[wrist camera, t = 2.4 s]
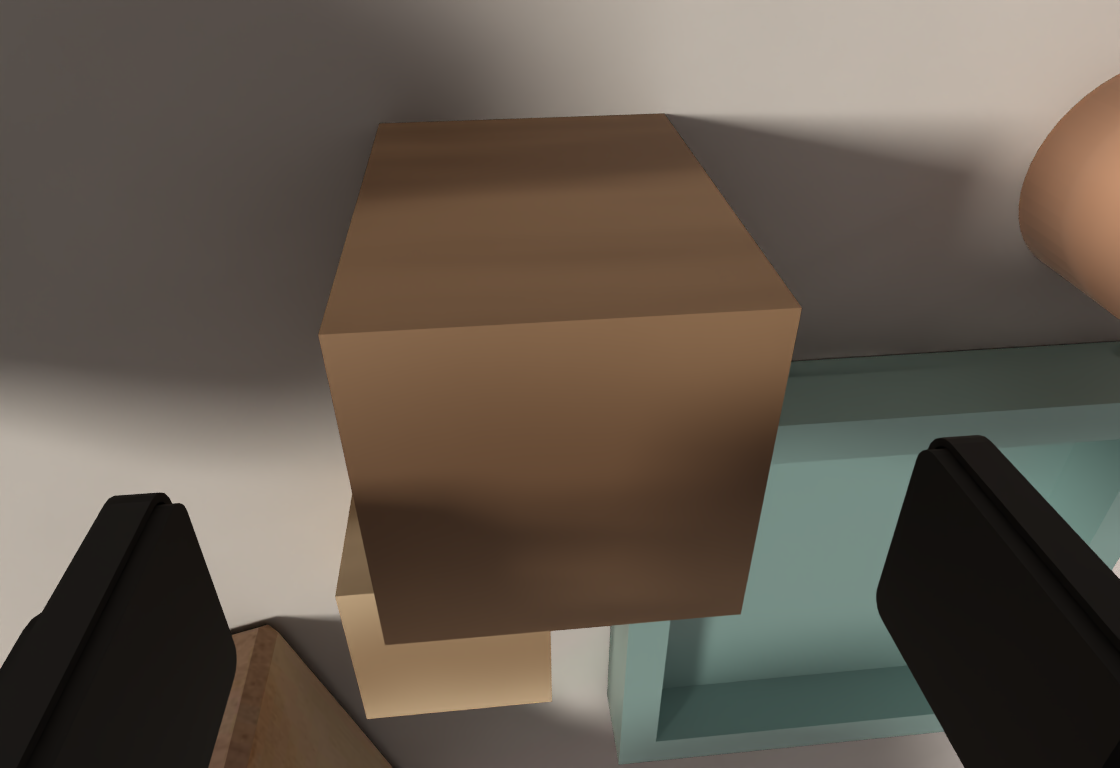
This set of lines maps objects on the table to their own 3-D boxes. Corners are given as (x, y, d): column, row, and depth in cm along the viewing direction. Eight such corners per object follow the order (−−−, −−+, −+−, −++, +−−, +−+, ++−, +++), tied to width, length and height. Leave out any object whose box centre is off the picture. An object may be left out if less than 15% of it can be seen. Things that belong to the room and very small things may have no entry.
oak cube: (358, 456, 18) (335, 596, 15) (533, 444, 18) (549, 578, 15) (382, 575, 20) (367, 718, 17) (537, 563, 20) (551, 701, 17)
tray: (623, 372, 17) (642, 435, 15) (1140, 340, 18) (1215, 396, 16) (607, 694, 24) (618, 764, 22) (980, 659, 25) (1020, 723, 23)
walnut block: (379, 122, 14) (318, 335, 8) (663, 113, 14) (801, 308, 8) (412, 363, 16) (385, 645, 11) (647, 349, 17) (740, 614, 11)
